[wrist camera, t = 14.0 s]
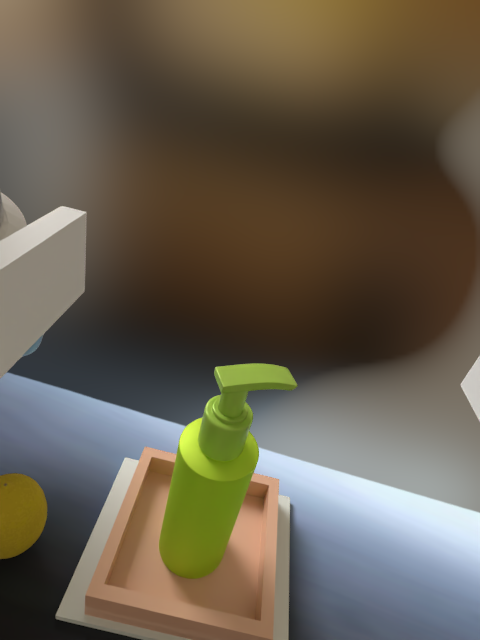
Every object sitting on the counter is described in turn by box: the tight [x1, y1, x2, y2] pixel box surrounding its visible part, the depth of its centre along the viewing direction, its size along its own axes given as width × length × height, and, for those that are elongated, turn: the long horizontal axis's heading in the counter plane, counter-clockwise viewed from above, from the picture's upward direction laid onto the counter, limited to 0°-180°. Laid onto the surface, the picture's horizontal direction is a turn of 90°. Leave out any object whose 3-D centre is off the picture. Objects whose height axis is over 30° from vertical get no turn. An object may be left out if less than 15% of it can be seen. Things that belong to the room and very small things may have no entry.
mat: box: [55, 458, 290, 640], centre depth 38 cm, size 18×15×1 cm
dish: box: [84, 447, 279, 640], centre depth 37 cm, size 14×14×3 cm
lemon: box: [0, 473, 47, 559], centre depth 33 cm, size 6×6×8 cm
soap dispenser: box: [159, 364, 298, 579], centre depth 32 cm, size 6×7×20 cm
